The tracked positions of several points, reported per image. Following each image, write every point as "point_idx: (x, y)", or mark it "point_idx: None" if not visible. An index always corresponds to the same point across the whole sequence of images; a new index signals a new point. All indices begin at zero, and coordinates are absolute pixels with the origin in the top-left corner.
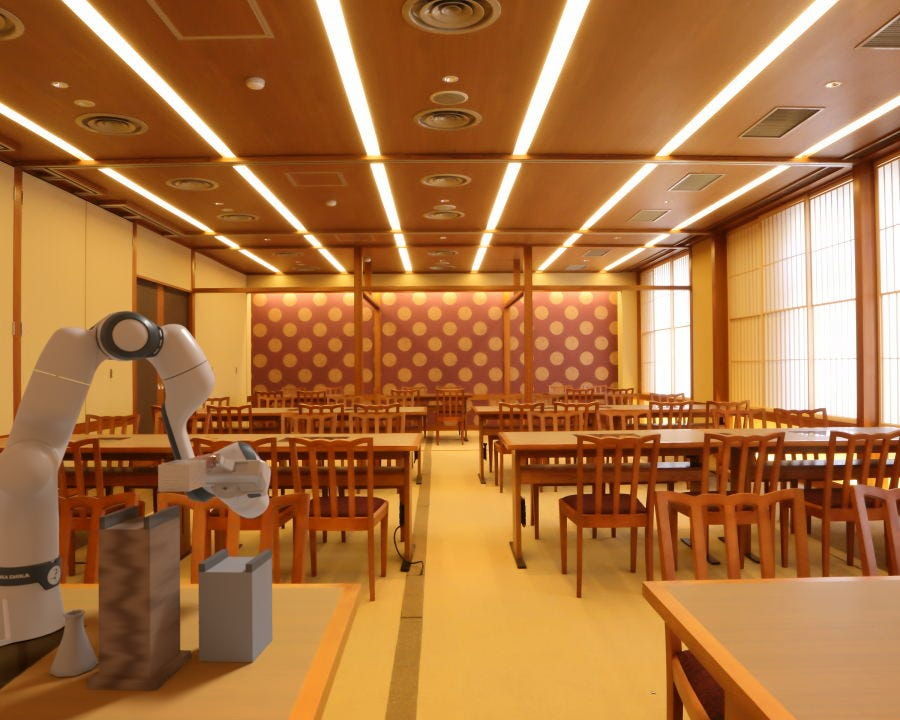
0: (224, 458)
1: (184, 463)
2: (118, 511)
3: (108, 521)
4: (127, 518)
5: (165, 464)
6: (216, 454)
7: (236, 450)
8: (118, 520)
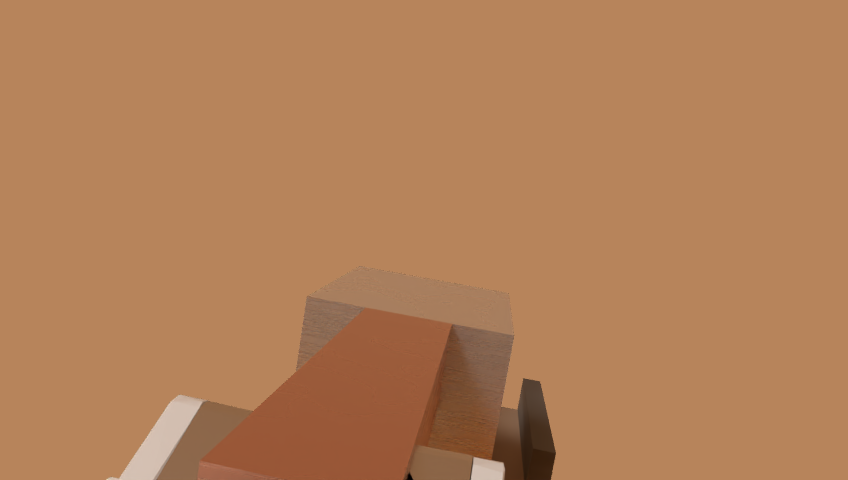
0: (124, 474)
1: (394, 279)
2: (538, 408)
3: (521, 399)
4: (523, 450)
5: (478, 289)
6: (247, 420)
7: None
8: (521, 424)
